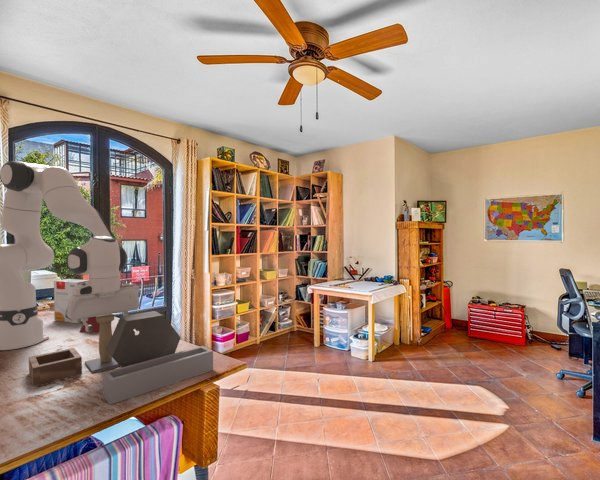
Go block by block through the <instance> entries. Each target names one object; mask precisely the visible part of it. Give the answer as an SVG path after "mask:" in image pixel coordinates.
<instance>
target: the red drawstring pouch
mask: <svg viewBox="0 0 600 480" xmlns="http://www.w3.org/2000/svg"><path fill="white" fill-rule="evenodd" d="M86 323H87V324H88V325H92V331H88V332H86V329H85V325H84V324H83V325H82V326H81V327H80V330H79V333H99V330H100V324H99V323H98V322H97V321H96V316H94V317H88V321H86Z"/></svg>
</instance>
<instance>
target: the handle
mask: <svg viewBox="0 0 600 480" xmlns="http://www.w3.org/2000/svg"><path fill="white" fill-rule="evenodd" d="M96 321H97V322H98V323H99V324H100V330H99V332H98V333H99V335H98V336H99V338H98V353H99V358H101V359H100V362H101V363H107V362H110V361H111V360H112V356H111V355H110V354H109V353H108V351H107V350H106V349H107V347H108V344H109V342H110V340H111V337H112V335H113V330H112V322H113V321H115V314H114V313H113V314H107V315H100V316H96Z"/></svg>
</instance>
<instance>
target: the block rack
mask: <svg viewBox="0 0 600 480" xmlns="http://www.w3.org/2000/svg"><path fill="white" fill-rule="evenodd" d="M212 371H214V350H212V349H211V348H208V347H206V346H204V345H200V346H196V347H194V348H189V349H186V350H182V351H177V352H175V353H174V354H170V355H167V356H163V357H159V358H155V359H152V360H148V361H144V362H141V363H137V364H133V365H129V366H126V367H117V368H115V369H112V370H111V369H110V370H107V371H104V372H102V373H101V374H102V377H101V378H102V396H103V398H104V399H105V401H106V402H107V403H108V404H109V405H113V404H116V403H119V402H123V401H125V400H127V399H132V398H135V397H137V396H140V395H143V394H146V393H149V392H152V391H155V390H158V389H161V388H163V387H164V388H165V387H167V386H170V385H172V384H176V383H179V382H182V381H185V380H187V379H191V378H194V377H197V376H200V375H203V374H205V373H208V372H212Z"/></svg>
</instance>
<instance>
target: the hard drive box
mask: <svg viewBox="0 0 600 480" xmlns="http://www.w3.org/2000/svg"><path fill="white" fill-rule="evenodd" d="M88 281H89V279H77V278H64V279H56V280H53V294H54V295H53V301H54V302H53V306H54V307H53V310H54V313H53V314H54V321H56V322H65V323H72V324H73V323H74V324H81V323H83V322H82V321H81V319H75V320H71V319H70V318H68V316H67V307H68V301H69V298H70V297H71V296H72V295H73V293H72V287H74V286H77V285H80V284H82V283H85V282H88Z"/></svg>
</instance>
